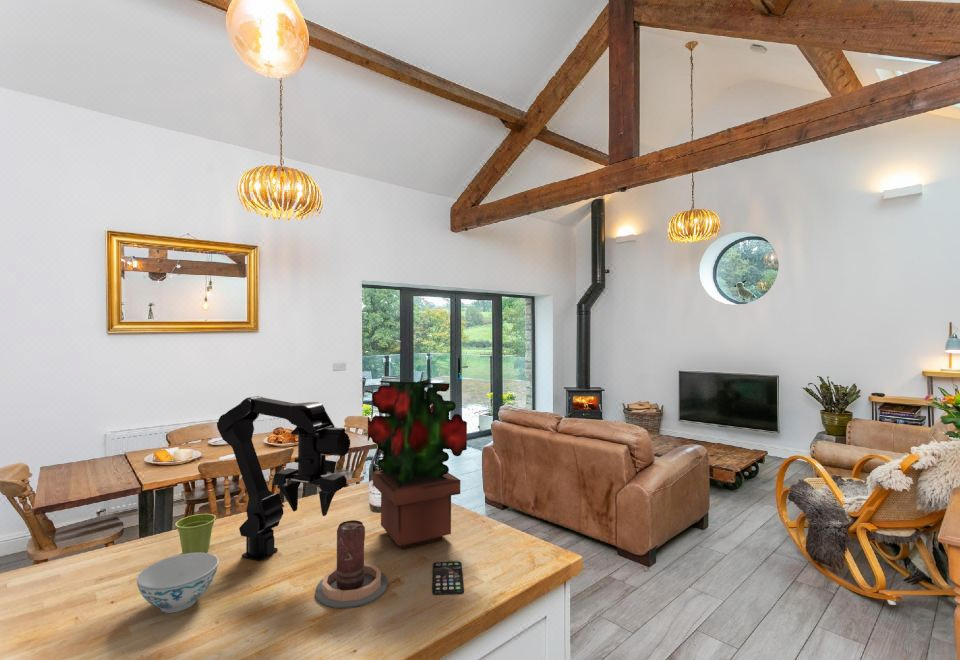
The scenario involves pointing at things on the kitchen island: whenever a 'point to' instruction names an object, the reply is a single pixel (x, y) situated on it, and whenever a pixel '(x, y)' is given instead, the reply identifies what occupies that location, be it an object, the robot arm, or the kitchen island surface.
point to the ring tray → (351, 603)
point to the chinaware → (177, 580)
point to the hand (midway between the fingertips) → (309, 513)
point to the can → (350, 555)
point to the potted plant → (416, 459)
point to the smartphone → (447, 578)
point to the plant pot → (195, 532)
